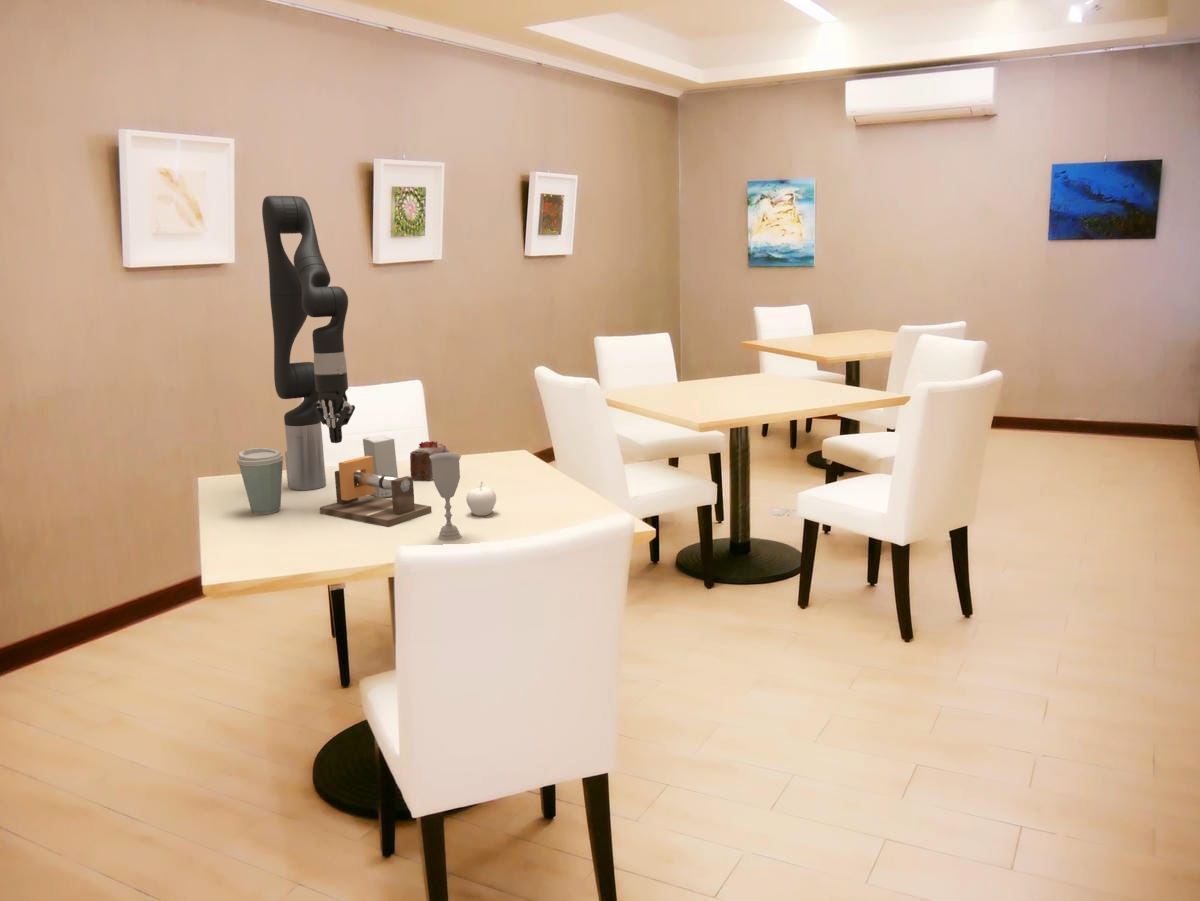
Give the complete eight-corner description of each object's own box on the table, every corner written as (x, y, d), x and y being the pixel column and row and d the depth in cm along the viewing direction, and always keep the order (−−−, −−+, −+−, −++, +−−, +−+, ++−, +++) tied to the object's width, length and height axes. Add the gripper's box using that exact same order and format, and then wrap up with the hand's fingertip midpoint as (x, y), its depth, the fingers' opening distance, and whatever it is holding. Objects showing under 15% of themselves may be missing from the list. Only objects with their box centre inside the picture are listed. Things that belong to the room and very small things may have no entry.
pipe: (338, 483, 234) (337, 470, 233) (348, 480, 236) (347, 467, 236) (400, 493, 222) (400, 480, 222) (410, 490, 225) (410, 477, 224)
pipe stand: (320, 513, 231) (317, 474, 229) (363, 500, 243) (361, 463, 241) (388, 526, 219) (386, 486, 217) (431, 512, 230) (429, 473, 228)
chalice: (435, 532, 213) (430, 453, 210) (466, 531, 214) (462, 452, 210) (432, 542, 206) (427, 460, 203) (464, 541, 207) (460, 459, 203)
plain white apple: (473, 519, 223) (471, 486, 222) (463, 512, 230) (461, 480, 228) (501, 515, 226) (500, 482, 225) (490, 508, 233) (489, 476, 231)
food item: (425, 470, 276) (423, 436, 274) (452, 470, 275) (450, 436, 273) (408, 481, 263) (406, 445, 261) (436, 481, 261) (434, 446, 259)
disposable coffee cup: (297, 507, 237) (292, 447, 234) (269, 519, 227) (263, 456, 224) (261, 504, 241) (255, 445, 237) (232, 516, 231) (226, 454, 228)
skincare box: (400, 495, 247) (396, 438, 244) (377, 499, 244) (373, 441, 241) (388, 489, 254) (384, 433, 251) (365, 492, 250) (362, 436, 247)
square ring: (341, 499, 230) (338, 462, 228) (369, 491, 237) (367, 455, 235) (347, 500, 229) (344, 463, 227) (375, 492, 236) (372, 456, 234)
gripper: (299, 371, 231) (305, 443, 234) (337, 374, 224) (343, 447, 227) (324, 368, 237) (329, 437, 241) (361, 370, 230) (367, 442, 233)
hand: (336, 442), depth 234 cm, fingers closed
